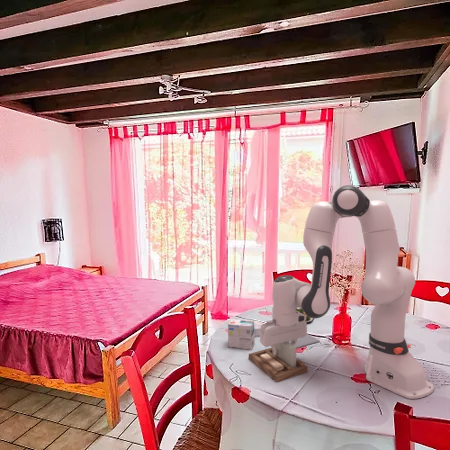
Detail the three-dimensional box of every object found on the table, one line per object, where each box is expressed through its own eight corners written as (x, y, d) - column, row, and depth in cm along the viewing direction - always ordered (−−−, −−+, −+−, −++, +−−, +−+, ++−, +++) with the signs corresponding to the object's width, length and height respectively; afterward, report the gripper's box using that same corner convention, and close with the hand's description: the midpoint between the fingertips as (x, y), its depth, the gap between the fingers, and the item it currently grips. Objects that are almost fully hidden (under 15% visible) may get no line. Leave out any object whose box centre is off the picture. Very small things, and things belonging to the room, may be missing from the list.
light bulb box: (255, 343, 150) (254, 319, 149) (252, 350, 143) (251, 325, 142) (231, 340, 153) (231, 317, 151) (227, 347, 146) (227, 323, 145)
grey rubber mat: (319, 342, 150) (319, 340, 150) (294, 349, 144) (294, 347, 144) (299, 330, 162) (299, 329, 162) (275, 336, 156) (275, 335, 156)
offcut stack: (283, 374, 125) (283, 365, 125) (276, 376, 123) (276, 368, 123) (266, 361, 135) (266, 353, 134) (260, 363, 133) (260, 355, 133)
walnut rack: (307, 371, 126) (307, 365, 126) (276, 382, 119) (276, 375, 119) (277, 350, 143) (277, 344, 142) (248, 358, 136) (248, 352, 136)
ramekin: (267, 331, 162) (267, 322, 162) (260, 338, 155) (260, 329, 154) (250, 328, 166) (250, 319, 166) (242, 335, 159) (242, 326, 158)
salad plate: (287, 309, 193) (287, 301, 192) (318, 314, 184) (319, 306, 183) (274, 320, 176) (274, 312, 175) (308, 327, 167) (308, 318, 167)
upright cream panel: (296, 369, 128) (296, 346, 127) (290, 371, 127) (290, 348, 126) (277, 355, 138) (277, 334, 137) (272, 357, 137) (272, 336, 136)
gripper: (266, 325, 123) (266, 361, 125) (309, 315, 132) (309, 349, 134) (256, 319, 129) (256, 354, 130) (299, 310, 138) (298, 342, 139)
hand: (283, 351), depth 132 cm, fingers open, 6 cm apart
